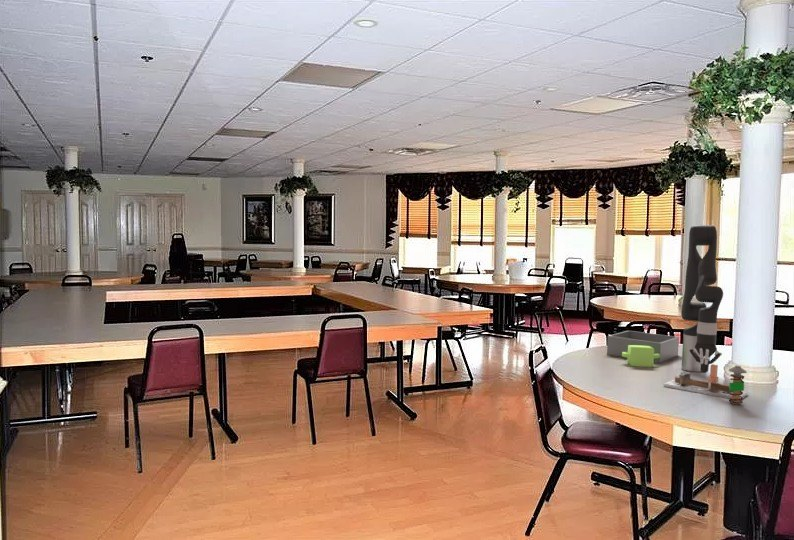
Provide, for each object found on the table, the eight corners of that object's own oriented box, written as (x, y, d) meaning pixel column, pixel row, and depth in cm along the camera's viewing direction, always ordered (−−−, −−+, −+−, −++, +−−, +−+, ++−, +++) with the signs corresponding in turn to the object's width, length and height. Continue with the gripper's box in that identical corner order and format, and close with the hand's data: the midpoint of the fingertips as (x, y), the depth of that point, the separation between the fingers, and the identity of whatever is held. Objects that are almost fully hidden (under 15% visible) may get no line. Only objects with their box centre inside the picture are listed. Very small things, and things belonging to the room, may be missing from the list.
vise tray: (627, 347, 364) (628, 330, 364) (678, 355, 346) (679, 337, 345) (606, 354, 344) (607, 335, 343) (659, 362, 325) (660, 343, 324)
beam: (676, 380, 282) (677, 370, 282) (741, 391, 265) (742, 381, 264) (671, 383, 276) (671, 373, 276) (736, 395, 259) (737, 384, 259)
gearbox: (656, 363, 323) (657, 345, 323) (662, 367, 314) (663, 348, 313) (620, 361, 325) (621, 343, 325) (625, 366, 315) (626, 347, 315)
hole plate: (673, 381, 284) (673, 378, 284) (747, 395, 264) (747, 391, 264) (663, 386, 275) (663, 383, 275) (740, 400, 255) (740, 397, 255)
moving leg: (710, 385, 273) (711, 363, 272) (717, 386, 271) (719, 365, 270) (704, 388, 267) (706, 366, 266) (712, 389, 265) (714, 367, 264)
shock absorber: (728, 400, 255) (730, 363, 254) (746, 403, 251) (748, 366, 250) (724, 403, 250) (727, 366, 249) (742, 407, 246) (745, 368, 245)
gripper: (726, 333, 270) (723, 374, 271) (693, 329, 278) (690, 368, 280) (720, 335, 264) (718, 376, 265) (687, 331, 273) (685, 371, 274)
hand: (704, 372), depth 272 cm, fingers closed
